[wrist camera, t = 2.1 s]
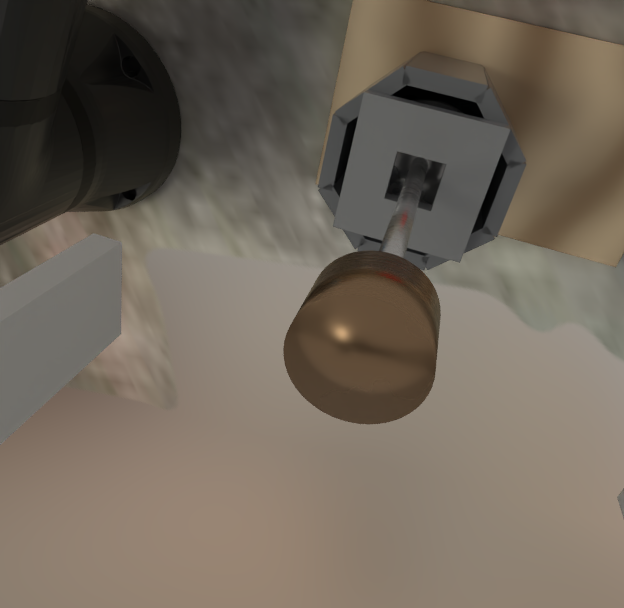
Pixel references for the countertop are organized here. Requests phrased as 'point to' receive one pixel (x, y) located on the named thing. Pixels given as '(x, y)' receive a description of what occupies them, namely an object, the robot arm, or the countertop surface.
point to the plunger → (372, 317)
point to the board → (519, 111)
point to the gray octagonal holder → (426, 144)
